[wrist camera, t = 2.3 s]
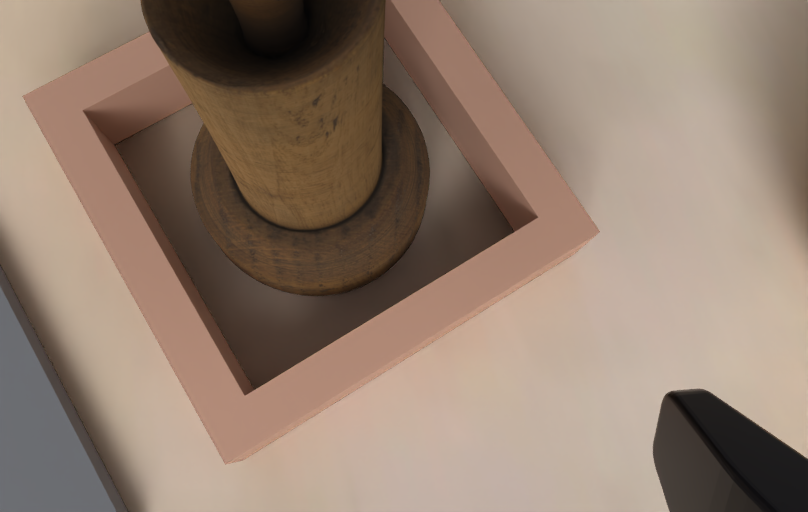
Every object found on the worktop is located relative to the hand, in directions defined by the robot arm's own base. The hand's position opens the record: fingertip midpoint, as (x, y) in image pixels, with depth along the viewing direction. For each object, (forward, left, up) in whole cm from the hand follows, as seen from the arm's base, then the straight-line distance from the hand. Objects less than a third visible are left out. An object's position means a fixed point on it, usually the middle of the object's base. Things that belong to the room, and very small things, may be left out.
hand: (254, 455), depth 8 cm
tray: (+6, -3, -13) cm, 15 cm away
